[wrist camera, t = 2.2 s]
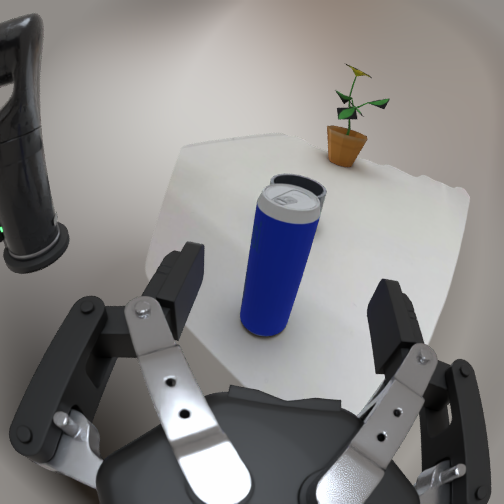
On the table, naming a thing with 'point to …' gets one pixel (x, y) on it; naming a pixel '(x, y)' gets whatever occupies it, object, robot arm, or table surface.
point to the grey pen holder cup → (302, 185)
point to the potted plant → (348, 131)
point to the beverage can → (277, 256)
